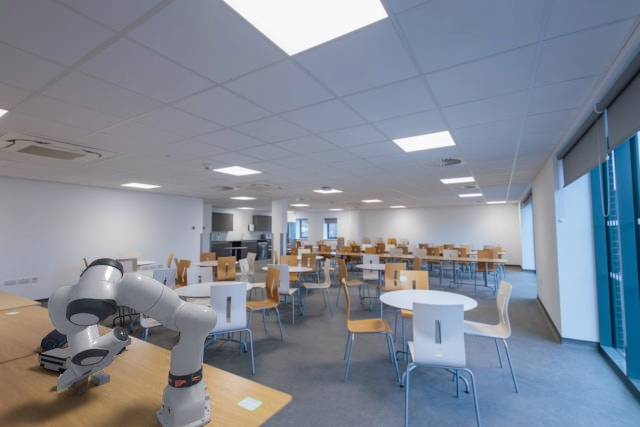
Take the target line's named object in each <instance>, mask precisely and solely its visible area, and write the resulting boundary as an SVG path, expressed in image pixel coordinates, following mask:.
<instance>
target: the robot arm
mask: <svg viewBox="0 0 640 427" xmlns="http://www.w3.org/2000/svg"><path fill="white" fill-rule="evenodd" d="M124 272H125V271H124V266H123V264H122V263H121V262H120V261H118V260H116V259H113V258H109V257H108V258H107V257H101V258H97V259H95V260H93V261H92V262H90V263H89V265H87V267H86V268H84V270H83V271H82V272H81V274H79V280H78V282H77V283H76V284H70V285H65V286H62V287H59V288H57V289H56V290H55V291H53V292H52V293H51V294H50V296H49V297H48V301H47V313H48V317H49V320H50V322H51V324H52V326H53V327H54V330H55V329H56V330H57V331H58V332H60V333H61V334H65V335H66V337H67V346H68V347H69V352H70V358H71V362H72V363H71V367H69V368H68V369H67V370H66V371H65V372H62V375H61V376H60V375H59V376H60V378H59V377H58V378H59V379H58V378H57V382H58V384H59V386H60V387H61V388H64V387H66V386H69V387H70V386H72V385H74V384H75V382H76V381H79V380H81V379H83V378H85V377H87V376H88V378H89V377H91V375H92V374H95V373H98V372H101V371H103V370H104V369H106V368H108V367H109V366H110V365H112V363H113V362H114V361H115V360H116V357H117V356H118V355H117V354H118V353H119V352H120V351H121V350H122V348H123V347H124V346H125V345H126V343H127V341H128V339H129V338H130V336H129V332H128V331H127V330H126V329H125V328H124V327H121V326H116V327H113V328H112V329H110V331H109V332H107V333H106V334H102V335H103V336H102V335H100V331H99V324H100V323H102V322H104V321H106V320H107V319H108V318H109V317H110V316H114V315H116V314H117V313H118V311H119V307H121V306H124V307H128V308H130V309H133V310H134V311H135V312H138V313H139V314H142V315H144V316H147V317H148V318H151V319H152V320H155V321H156V322H158V323H159V324H160V325H162V326H163V327H165V328H167V329H168V330H170V331H175V332H178V333H180V337H179V341H178V343H177V344H176V345H175V346H173V347H172V348H171V351H170V364H169V365H170V366H169V371H168V375H167V380H168V381H167V385H166V386H165V387H164V388H163V389H162V401H161V402H162V404H161V408H160V409H158V410H157V411H156V412H155V417H156V418H157V420H158V421H159V423H160V425H161V426H162V427H203V426H205V425H207V424H208V423H209V422H211V420H212V405H211V403H212V402H211V400H210V399H211V396H210V395H211V394H210V392H205V391H206V390H208V385H207V384H206V378H205V377H204V368H203V365H202V361H203V348H204V344H205V341H206V338H207V336H208V335H209V334H210V333H212V332H213V330H214V329H215V328H216V326H217V324H218V323H217V322H218V314H217V312H216V310H215V309H213V308H212V307H210V306H207V305H205V304H200V303H194V302H190V301H185V300H183V299H182V298H181V297H180V296H179V293H178V292H177V291H175V290H173V289H172V288H171V287H169V286H167V285H165V284H163V283H162V282H160V281H159V280H157V279H155V278H152V277H151V276H148V275H145V274H143V273H139V272H132V273H129V274H126V275H125V276H124ZM122 351H123V350H122ZM122 351H121V352H122ZM115 355H116V356H115Z"/></svg>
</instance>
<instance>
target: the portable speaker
mask: <svg viewBox="0 0 640 427" xmlns="http://www.w3.org/2000/svg"><path fill="white" fill-rule="evenodd" d="M66 343H68V341H67V337H66V335H65V334H61V333H60V332H58V331H57V330H56V329H55V328H54V329H53V330H51V331H50V332H49V333H48V334H46V335H45V336H44V337H43V338H42V339H41V341H40V348H41V350H43V351H46V350H50V349H53V348H62V347H63V346H64V345H65V344H66Z"/></svg>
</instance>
